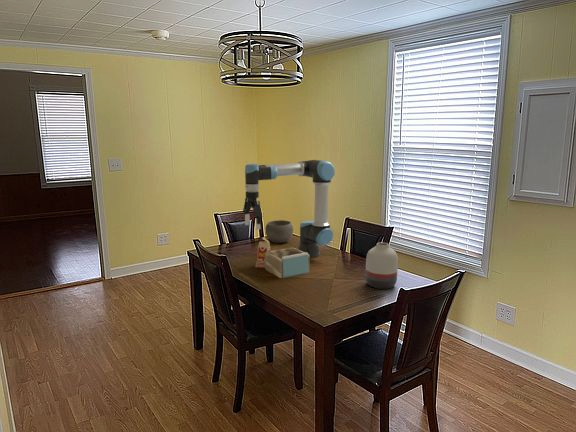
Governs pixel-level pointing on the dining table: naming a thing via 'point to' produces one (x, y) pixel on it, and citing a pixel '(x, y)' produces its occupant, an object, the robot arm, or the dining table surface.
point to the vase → (381, 266)
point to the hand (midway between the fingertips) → (252, 227)
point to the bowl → (279, 231)
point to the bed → (279, 260)
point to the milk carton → (262, 252)
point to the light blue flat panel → (295, 265)
